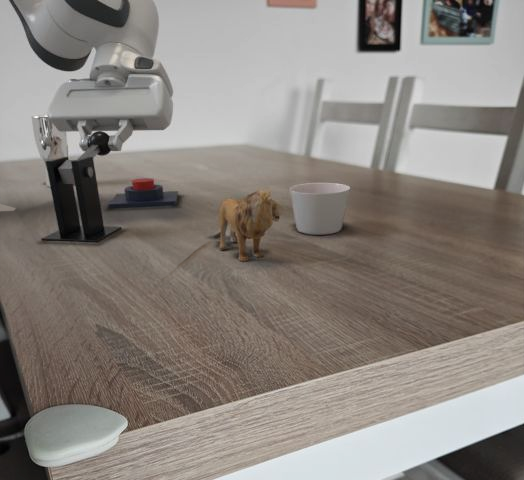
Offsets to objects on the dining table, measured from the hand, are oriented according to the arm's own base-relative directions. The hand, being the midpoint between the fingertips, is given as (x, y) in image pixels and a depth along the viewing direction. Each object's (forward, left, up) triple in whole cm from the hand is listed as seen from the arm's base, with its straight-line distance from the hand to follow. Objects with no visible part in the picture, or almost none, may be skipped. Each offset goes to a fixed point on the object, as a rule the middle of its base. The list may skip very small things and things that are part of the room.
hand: (99, 148), depth 86 cm
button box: (+4, +15, -12) cm, 19 cm away
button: (+4, +15, -9) cm, 18 cm away
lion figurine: (+21, -19, -12) cm, 31 cm away
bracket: (-3, -8, -12) cm, 15 cm away
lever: (-1, -3, -2) cm, 4 cm away
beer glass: (-19, +44, -12) cm, 49 cm away
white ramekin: (+33, -9, -12) cm, 37 cm away
